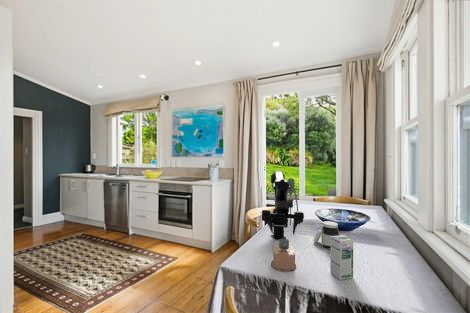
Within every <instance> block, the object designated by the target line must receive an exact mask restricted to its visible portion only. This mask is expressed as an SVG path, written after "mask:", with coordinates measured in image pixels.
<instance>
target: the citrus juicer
mask: <svg viewBox="0 0 470 313" xmlns="http://www.w3.org/2000/svg"><path fill="white" fill-rule="evenodd" d="M286 181H287V183H288V184H289V186H290V189H289V191H288V195H289V200H292V195H293V194H294V198H295V206H296V211H299V204H298V197H297V193H296V188H295V184H296V183H295V180H294V178H291V177H289V178H288V179H287V180H286ZM289 214H292V208H289ZM289 226H292V219H290V218H289Z"/></svg>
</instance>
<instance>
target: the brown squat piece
mask: <svg viewBox="0 0 470 313" xmlns="http://www.w3.org/2000/svg"><path fill="white" fill-rule="evenodd" d="M272 256H273V258H272V260H271V262H270V263H271V266H270V267H272V269H275V270H276V271H279V272H286V273H288V272H294V271H296V269H297V264H296V253H295V250H294V247H293V246H289V249H286V250H285V251H282V249H280V248H279V245H273V255H272Z"/></svg>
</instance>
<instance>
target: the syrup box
mask: <svg viewBox="0 0 470 313" xmlns="http://www.w3.org/2000/svg"><path fill="white" fill-rule="evenodd" d="M329 264H330V266H329V267H330V271H329V272H330V274H332V275H333V276H334V277H336V278H337V279H338V280H340V281H342V280H349V279H353V278H354V239H352V238H351V237H349V236H347V235H344V234H341V235H340V234H339V236H331V249H330V262H329Z"/></svg>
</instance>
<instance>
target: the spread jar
mask: <svg viewBox="0 0 470 313" xmlns="http://www.w3.org/2000/svg"><path fill="white" fill-rule="evenodd" d="M338 225H339V224H338V223H337V222H334V221H331V220H330V221H329V220H327V221H325V220H324V221H323V222H322V227H321V229H319V230H317V232H316V234H315V235H314V236H315V237H314V238H313V242H314V243H316V244H317V243H318V242H319V241H320V239H321V246H322V247H323V248H325V249H328V250H331V236H340V231H339V229H338V228H339V226H338Z"/></svg>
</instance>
